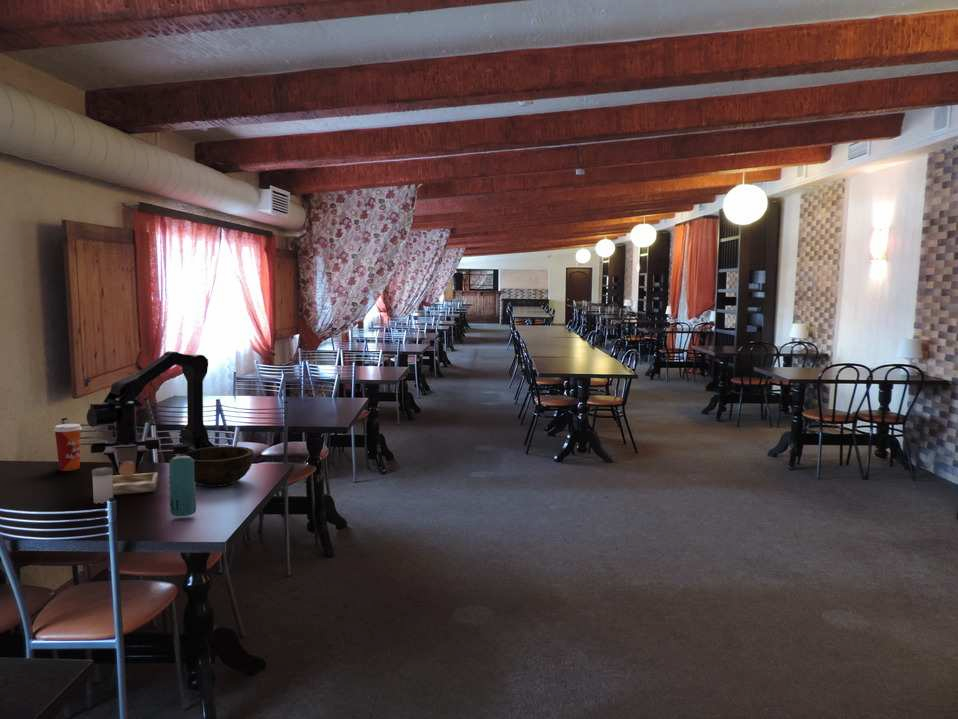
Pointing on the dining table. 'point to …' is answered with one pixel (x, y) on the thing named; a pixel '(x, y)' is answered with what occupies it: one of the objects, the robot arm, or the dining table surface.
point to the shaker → (102, 484)
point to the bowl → (220, 464)
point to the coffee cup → (68, 446)
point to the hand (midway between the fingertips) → (127, 472)
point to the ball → (127, 468)
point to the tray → (134, 483)
